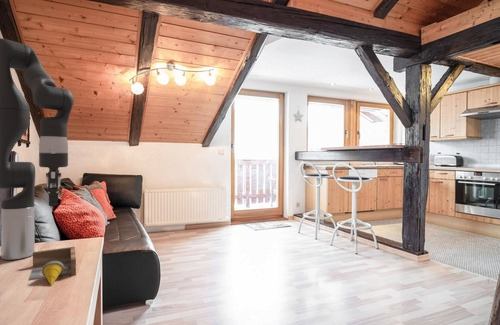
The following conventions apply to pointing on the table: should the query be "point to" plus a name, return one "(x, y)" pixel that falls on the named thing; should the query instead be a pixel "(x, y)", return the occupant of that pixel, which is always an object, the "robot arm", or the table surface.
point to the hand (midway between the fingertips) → (53, 203)
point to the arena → (61, 255)
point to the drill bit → (52, 270)
